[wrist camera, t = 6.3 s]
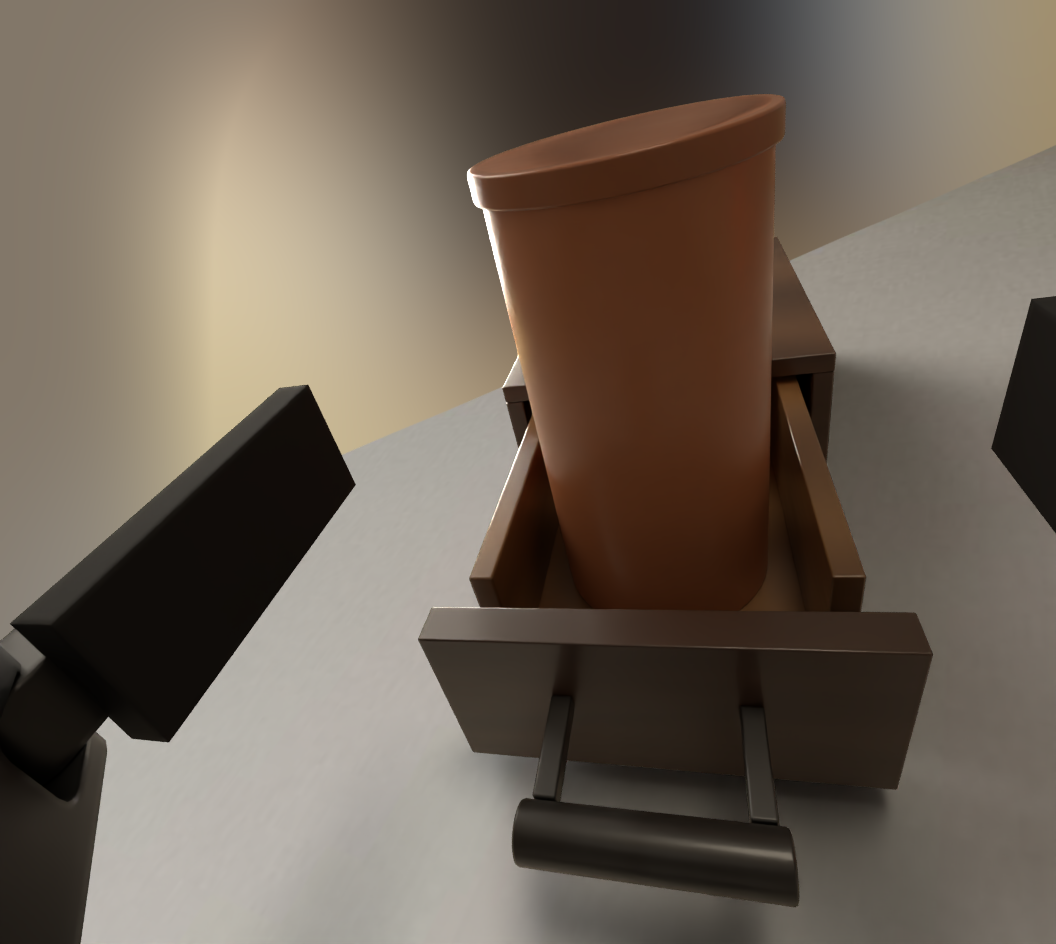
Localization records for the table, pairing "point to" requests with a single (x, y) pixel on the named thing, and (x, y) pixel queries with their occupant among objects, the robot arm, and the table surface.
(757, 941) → the table surface
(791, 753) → the drawer
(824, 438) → the cabinet
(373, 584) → the table surface
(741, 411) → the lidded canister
